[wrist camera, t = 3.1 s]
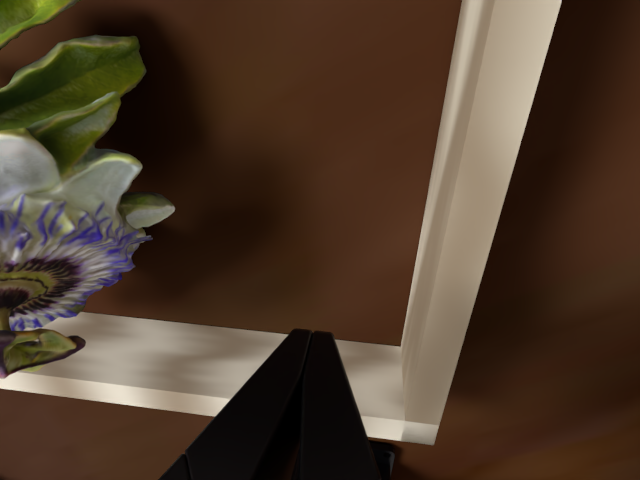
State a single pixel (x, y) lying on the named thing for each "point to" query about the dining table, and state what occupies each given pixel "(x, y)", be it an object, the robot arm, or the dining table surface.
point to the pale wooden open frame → (428, 280)
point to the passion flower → (63, 185)
